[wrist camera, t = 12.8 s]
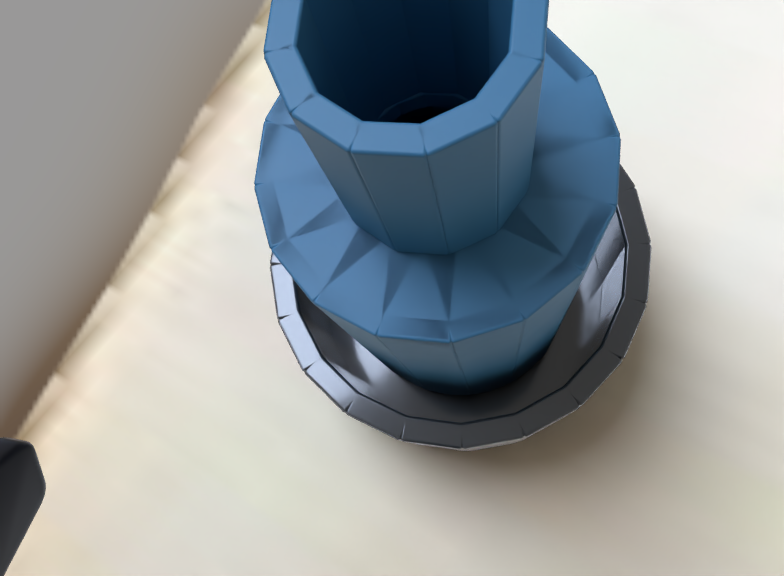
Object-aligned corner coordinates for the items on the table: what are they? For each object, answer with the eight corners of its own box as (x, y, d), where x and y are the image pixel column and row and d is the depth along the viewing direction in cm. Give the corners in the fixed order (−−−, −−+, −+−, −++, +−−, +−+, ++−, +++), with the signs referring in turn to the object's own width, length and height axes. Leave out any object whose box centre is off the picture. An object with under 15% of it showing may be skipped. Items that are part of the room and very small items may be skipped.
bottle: (556, 405, 21) (672, 302, 7) (348, 384, 22) (105, 259, 8) (569, 203, 22) (688, -206, 8) (372, 191, 23) (196, -194, 9)
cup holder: (543, 506, 21) (555, 518, 16) (262, 367, 23) (207, 345, 18) (667, 218, 22) (709, 158, 18) (392, 111, 24) (369, 34, 20)
